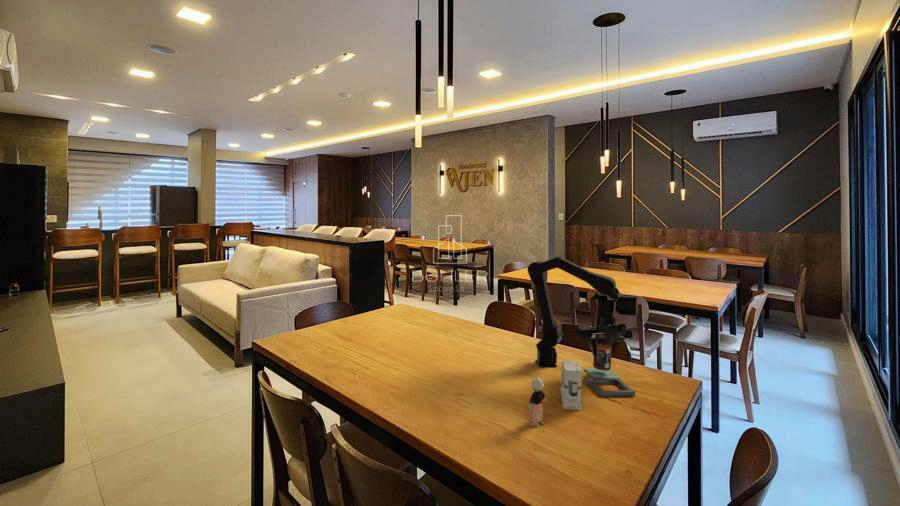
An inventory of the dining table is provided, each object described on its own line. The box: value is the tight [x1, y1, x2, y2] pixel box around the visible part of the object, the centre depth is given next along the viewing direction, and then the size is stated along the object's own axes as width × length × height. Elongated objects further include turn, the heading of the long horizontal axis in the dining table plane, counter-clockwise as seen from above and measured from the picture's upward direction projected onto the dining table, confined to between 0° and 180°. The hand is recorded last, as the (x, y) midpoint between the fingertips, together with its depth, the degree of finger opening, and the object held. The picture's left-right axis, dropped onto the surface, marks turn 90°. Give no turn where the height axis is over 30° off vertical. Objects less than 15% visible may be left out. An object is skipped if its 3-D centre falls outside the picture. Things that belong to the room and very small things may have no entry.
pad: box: [584, 367, 621, 380], centre depth 147 cm, size 9×9×1 cm
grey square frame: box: [586, 377, 636, 398], centre depth 134 cm, size 11×11×2 cm
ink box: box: [559, 360, 583, 411], centre depth 123 cm, size 9×5×12 cm, turn 172°
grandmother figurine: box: [527, 377, 547, 428], centre depth 110 cm, size 8×4×13 cm, turn 145°
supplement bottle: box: [592, 335, 613, 371], centre depth 146 cm, size 6×6×11 cm
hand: (602, 355), depth 146 cm, fingers closed on supplement bottle, 6 cm apart
